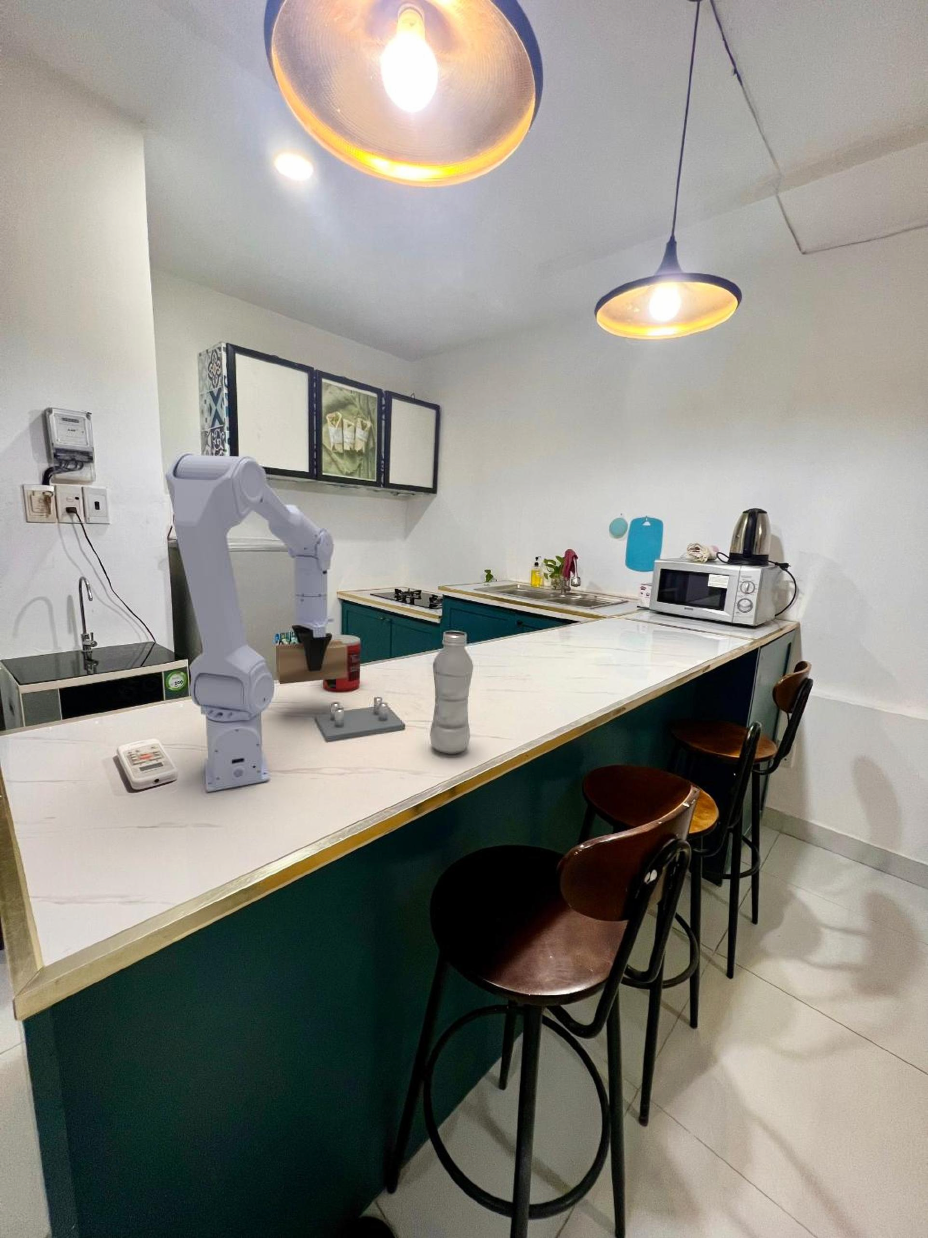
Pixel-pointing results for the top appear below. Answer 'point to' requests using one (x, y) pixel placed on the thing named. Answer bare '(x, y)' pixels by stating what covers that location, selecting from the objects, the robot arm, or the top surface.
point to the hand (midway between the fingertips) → (311, 666)
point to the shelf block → (295, 665)
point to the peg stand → (358, 721)
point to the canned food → (352, 666)
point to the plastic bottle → (451, 695)
